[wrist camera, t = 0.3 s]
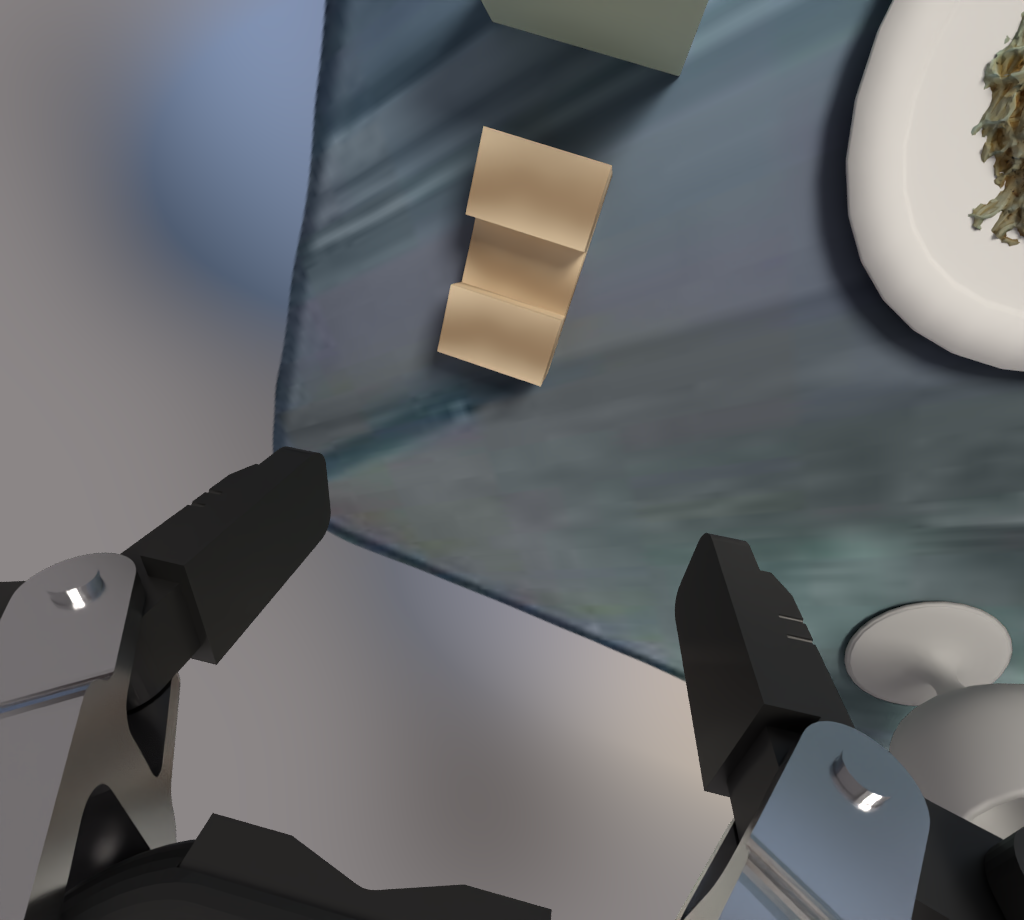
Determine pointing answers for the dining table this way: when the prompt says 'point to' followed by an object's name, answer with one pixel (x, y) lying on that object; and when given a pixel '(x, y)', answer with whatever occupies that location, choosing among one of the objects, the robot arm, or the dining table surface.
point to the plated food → (945, 173)
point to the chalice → (949, 706)
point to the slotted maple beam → (522, 254)
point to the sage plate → (611, 26)
